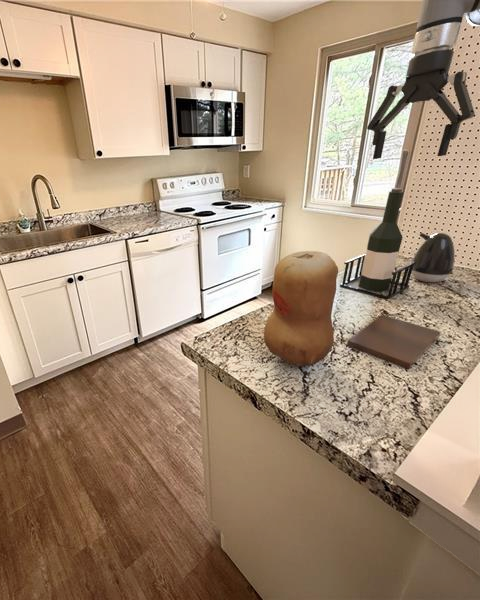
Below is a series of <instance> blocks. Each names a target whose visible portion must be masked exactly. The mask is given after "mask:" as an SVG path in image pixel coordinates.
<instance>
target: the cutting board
mask: <svg viewBox="0 0 480 600" xmlns="http://www.w3.org/2000/svg"><path fill="white" fill-rule="evenodd" d="M441 333H442V331H439V330H435V329H433V328H429V327H425V326H422V325H418V324H415V323H412V322H408V321H405V320H401V319H398V318H395V317H390V316H387V315H384V314H380V315H379V316H378V317H376V318H375V319H374V320H372V321H371V322H370V323H368V325H366V326H365V327H363V328H362V329H360V330H359V331H358V332H357V333H356V334H354V335H353V336H351V337H350V338H349V339H347V342H346V347H349V348H352V349H354V350H356V351H358V352H362V353H364V354H368V355H370V356H373V357H375V358H378V359H380V360H383V361H386V362H388V363H391V364H393V365H396V366H399V367H401V368H404V369H406V370H410V369H411V368H412V366H413V365H414V364H415V363H416V362H417V361H419V359H420V358H421V357H422V356H423V355H424V354H425V353H426V352H427V351H428V350H429V349H430V348H431V347H432V345H433V344H434V343H435V342H436V341H437V340H438V339H439V338H440V336H441Z"/></svg>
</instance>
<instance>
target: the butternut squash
mask: <svg viewBox="0 0 480 600" xmlns="http://www.w3.org/2000/svg"><path fill="white" fill-rule="evenodd" d="M273 272H274V273H273V280H272V291H271V294H272V295H271V296H272V300H273V305H274V307H273V310H272V312H271V314H270V315H269V317H268V318H267V321H266V323H265V325H264V330H263V341H264V344H265V346H266V347H267V349H268V350H269V351H270V352H271V353H272V354H273V355H275V356H277V357H278V358H280V359H281V360H283V361H285V362H286V363H288V364H290V365H296V366H301V367H303V366H306V367H311V366H314V365H316V364H318V363H319V362H321V361H322V360H323V359H325V358H327V356H328V354H330V353H331V352H332V350H333V346H334V342H335V339H334V338H335V331H334V326H333V320H332V314H333V308H334V302H335V297H336V293H337V279H338V275H339V267H338V265H337V264H336V261H334V259H333V257H331V255H329V254H328V253H326V252H322V251H318V250H302V251H301V250H300V251H297V252H292V253H290V254H288V255H286V256H284V257H283V258H281V259H280V260H279V261H278V262H277V263H276V265H275V266H274V271H273Z"/></svg>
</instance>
